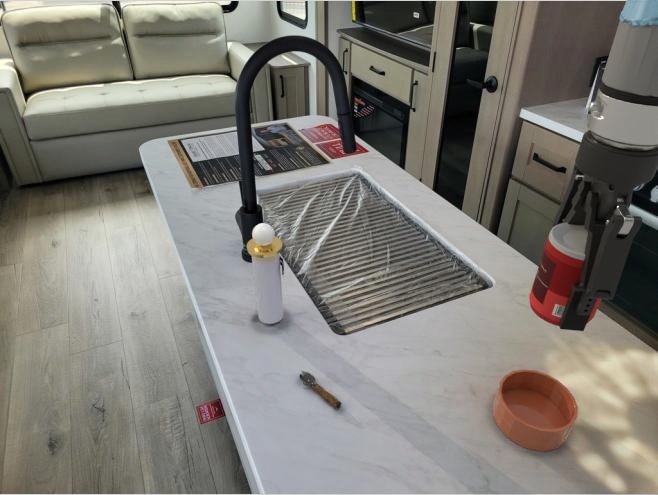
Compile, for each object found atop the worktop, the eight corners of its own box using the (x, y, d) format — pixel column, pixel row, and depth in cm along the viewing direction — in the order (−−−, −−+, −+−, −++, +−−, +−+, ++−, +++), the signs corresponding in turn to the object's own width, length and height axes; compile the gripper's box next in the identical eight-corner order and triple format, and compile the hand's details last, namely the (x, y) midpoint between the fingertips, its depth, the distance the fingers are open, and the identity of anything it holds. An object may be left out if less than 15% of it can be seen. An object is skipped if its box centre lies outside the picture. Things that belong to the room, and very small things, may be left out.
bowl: (557, 392, 73) (565, 373, 70) (577, 455, 64) (588, 435, 62) (487, 386, 74) (493, 366, 71) (499, 446, 65) (506, 426, 63)
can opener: (342, 406, 70) (342, 401, 70) (330, 415, 69) (330, 410, 69) (305, 369, 76) (305, 364, 76) (293, 377, 75) (293, 372, 74)
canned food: (606, 320, 60) (639, 249, 54) (557, 336, 57) (585, 264, 51) (562, 284, 66) (587, 216, 59) (515, 298, 63) (535, 228, 57)
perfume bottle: (261, 333, 83) (251, 238, 72) (250, 313, 87) (239, 220, 76) (292, 322, 85) (286, 229, 74) (280, 303, 89) (273, 212, 78)
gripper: (559, 102, 57) (516, 256, 70) (624, 179, 40) (551, 363, 53) (625, 105, 56) (569, 260, 69) (719, 184, 39) (622, 369, 52)
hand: (561, 305), depth 61 cm, fingers closed on canned food, 8 cm apart
